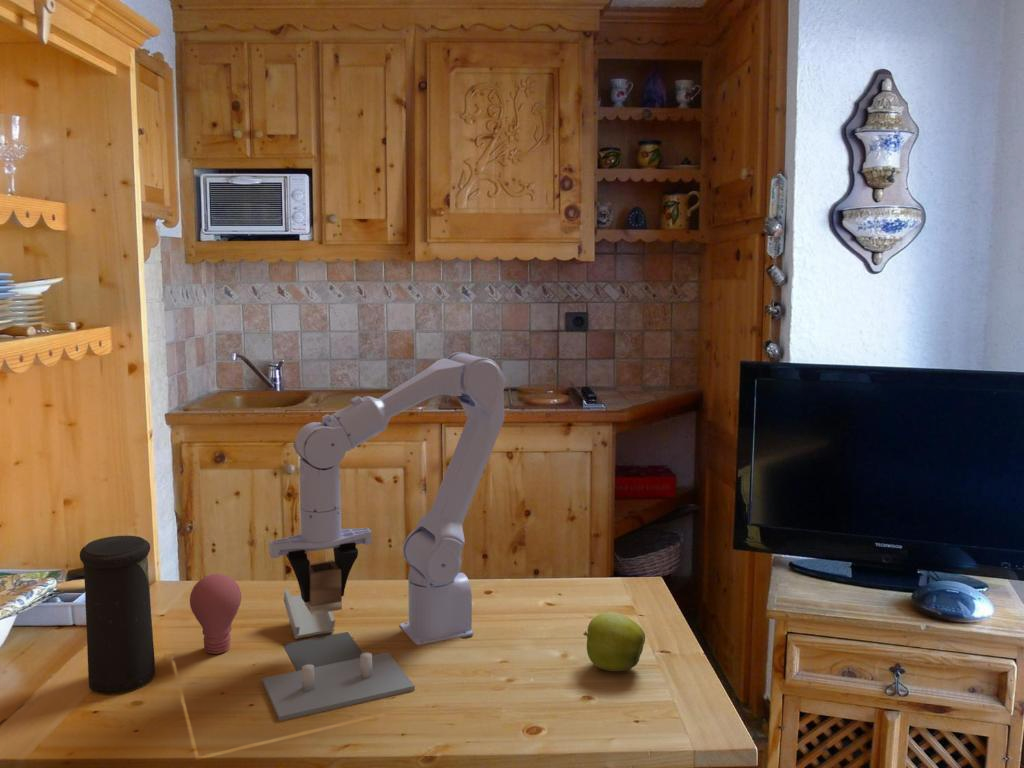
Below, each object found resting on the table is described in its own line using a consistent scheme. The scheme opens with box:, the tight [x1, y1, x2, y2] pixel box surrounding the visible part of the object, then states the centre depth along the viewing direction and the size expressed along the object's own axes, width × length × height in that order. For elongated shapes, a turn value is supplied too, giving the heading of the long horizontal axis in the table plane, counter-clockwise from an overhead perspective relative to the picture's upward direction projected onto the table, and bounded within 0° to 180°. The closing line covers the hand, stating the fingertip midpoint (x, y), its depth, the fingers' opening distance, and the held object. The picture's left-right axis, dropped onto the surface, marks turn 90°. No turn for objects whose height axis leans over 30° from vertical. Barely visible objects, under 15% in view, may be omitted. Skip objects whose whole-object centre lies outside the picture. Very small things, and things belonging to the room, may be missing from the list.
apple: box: [582, 611, 646, 672], centre depth 124 cm, size 8×9×8 cm
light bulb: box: [189, 573, 242, 655], centre depth 127 cm, size 7×7×12 cm
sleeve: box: [304, 559, 343, 615], centre depth 126 cm, size 4×4×6 cm
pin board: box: [261, 652, 416, 722], centre depth 117 cm, size 18×11×4 cm, turn 117°
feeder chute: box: [283, 588, 336, 639], centre depth 135 cm, size 6×8×6 cm
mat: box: [282, 631, 364, 671], centre depth 128 cm, size 10×10×1 cm
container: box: [79, 535, 156, 695], centre depth 118 cm, size 9×9×20 cm
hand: (322, 596), depth 126 cm, fingers closed on sleeve, 4 cm apart
